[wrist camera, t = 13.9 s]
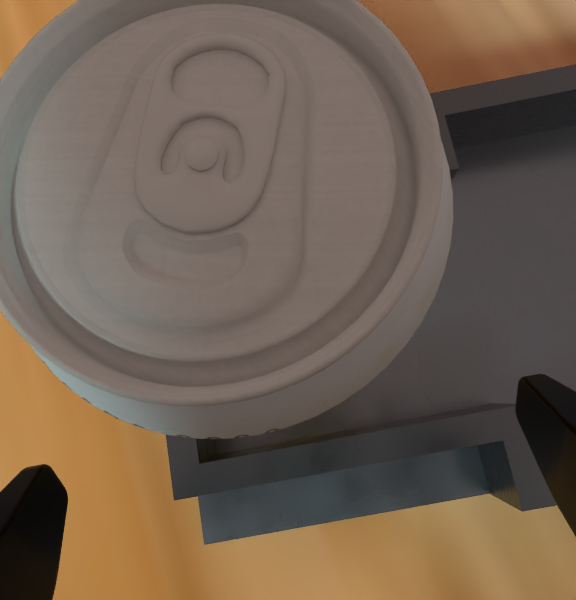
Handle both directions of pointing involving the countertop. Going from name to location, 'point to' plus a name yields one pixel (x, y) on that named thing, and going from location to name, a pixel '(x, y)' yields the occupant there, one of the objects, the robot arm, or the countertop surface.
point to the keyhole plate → (436, 344)
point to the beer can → (219, 207)
